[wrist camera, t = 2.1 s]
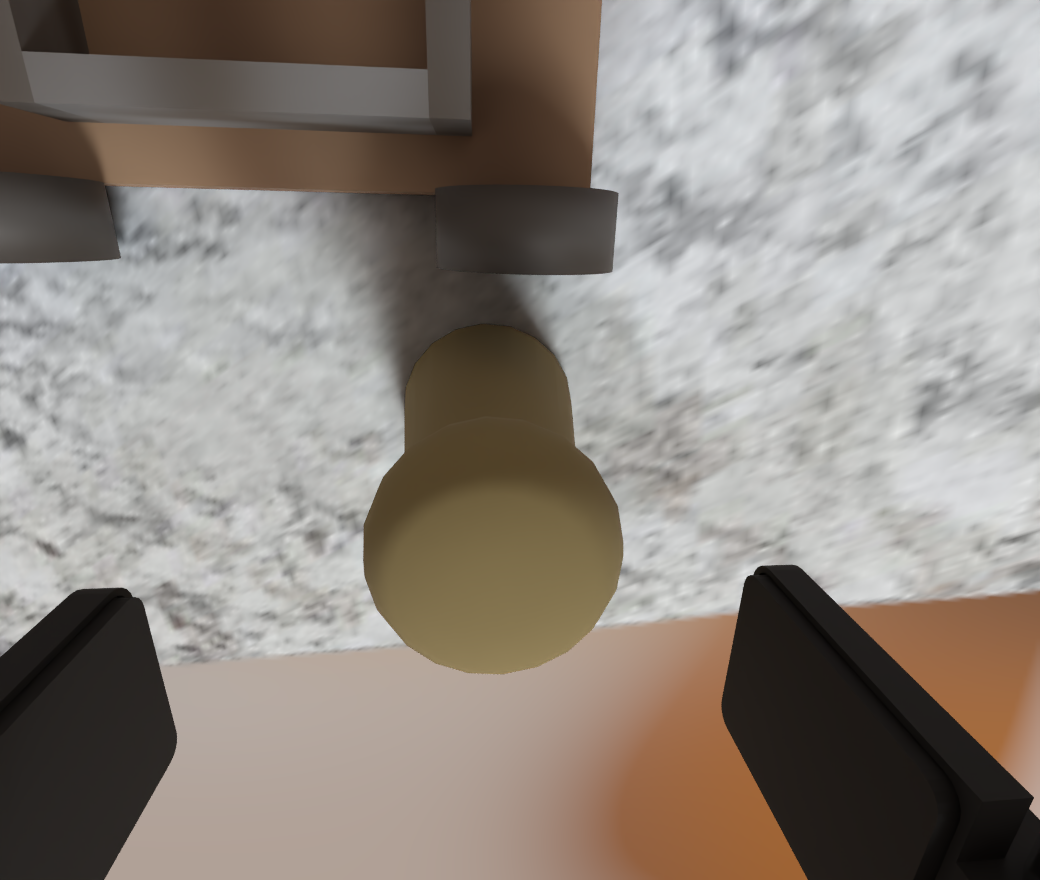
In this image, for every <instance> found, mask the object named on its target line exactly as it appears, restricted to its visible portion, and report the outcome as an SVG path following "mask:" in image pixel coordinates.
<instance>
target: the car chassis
mask: <svg viewBox="0 0 1040 880" xmlns="http://www.w3.org/2000/svg"><path fill="white" fill-rule="evenodd" d="M601 6H602V0H0V263H50V262H80V261H100V260H113V259H119V258H121V256H120V251H119V247H118V242H117V238H116V234H115V229H114V225H113V220H112V216H111V211H110V207H109V202H108V198H107V194H106V189H105V186H131V187H166V188H201V189H236V190H270V191H305V192H340V193H375V194H409V195H435V211H436V245H437V268H440V269H445V270H453V271H463V272H477V273H495V274H524V275H585V274H602V273H610V272H612V268H613V256H614V243H615V231H616V218H617V205H618V193H617V192H614V191H609V190H602V189H593V188H590V183H591V167H592V151H593V135H594V119H595V103H596V86H597V70H598V54H599V38H600V22H601Z"/></svg>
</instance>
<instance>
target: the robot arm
mask: <svg viewBox="0 0 1040 880" xmlns="http://www.w3.org/2000/svg"><path fill="white" fill-rule="evenodd" d="M722 713H723V718H724V722H725V724H726V726H727V729H728V731H729V732H730V734H731V736H732V738H733V740H734V742H735V744H736V746H737V747H738V749H739V751H740V753H741V755H742V757H743V759H744V761H745V762H746V764H747V766H748V768H749V770H750V772H751V774H752V776H753V777H754V779H755V781H756V783H757V785H758V787H759V788H760V790H761V792H762V794H763V796H764V798H765V800H766V802H767V804H768V805H769V807H770V809H771V811H772V813H773V815H774V817H775V818H776V821H777V822H778V824H779V826H780V828H781V830H782V832H783V834H784V836H785V837H786V839H787V841H788V843H789V845H790V847H791V849H792V851H793V852H794V854H795V856H796V858H797V860H798V862H799V864H800V866H801V867H802V869H803V871H804V873H805V875H806V877H807V879H808V880H1040V820H1039V819H1038V818H1037V817H1036V816H1035V815H1034V813H1033V812H1031V811H1030V810H1029V807H1030V805H1031V803H1032V801H1033V799H1034V797H1033V796H1032V795H1031V794H1030V793H1029V792H1028V791H1027V790H1026V789H1025V788H1024V787H1023V786H1022V785H1021V784H1020V783H1019V782H1018V781H1017V780H1016V779H1014V778H1013V776H1012V775H1011V774H1010V773H1008V771H1006V770H1005V769H1004V768H1003V767H1002V766H1001V765H1000V764H999V763H998V762H997V761H996V760H995V759H994V758H993V757H992V756H991V755H990V754H989V753H988V752H987V751H986V750H985V749H984V748H983V747H982V746H981V745H980V744H979V743H978V742H977V741H976V740H975V739H974V738H973V737H972V736H971V735H970V734H969V733H968V732H967V731H966V730H965V729H964V728H963V727H962V726H961V725H960V724H959V723H958V722H957V721H956V720H955V719H954V718H953V717H952V716H951V715H950V714H949V713H948V712H947V711H946V710H944V709H943V708H942V707H941V706H940V705H939V704H938V703H937V702H936V701H935V700H934V699H933V698H932V697H931V696H930V695H929V694H928V693H927V692H926V691H925V690H924V689H923V688H922V687H921V686H920V685H919V684H918V683H917V682H916V681H915V680H914V679H913V678H912V677H911V676H910V675H909V674H908V673H907V672H906V671H905V670H904V669H903V668H902V667H901V666H900V665H899V664H898V663H897V662H896V661H895V660H894V659H893V658H892V657H891V656H889V654H887V652H886V651H885V650H883V649H882V647H880V646H879V645H878V644H877V643H876V642H875V641H874V640H873V639H872V638H871V637H870V636H869V635H868V634H867V633H866V632H865V631H864V630H863V629H862V628H861V627H860V626H859V625H858V624H857V623H856V622H855V621H854V620H853V619H852V618H851V617H850V616H849V615H848V614H847V613H846V612H845V611H844V610H843V609H842V608H841V607H840V606H839V605H838V604H837V603H836V602H835V601H834V600H833V599H832V598H831V597H830V596H829V595H828V594H827V593H826V592H825V591H824V590H823V589H822V588H821V587H820V586H818V585H817V584H816V583H815V582H814V581H813V580H812V579H811V578H810V577H809V576H808V575H807V574H806V573H805V572H804V571H803V570H802V569H801V568H800V567H798V566H796V565H771V566H760V567H758V568H757V569H756V570H755V572H754V575H750V576H748V577H747V578H746V580H745V583H744V587H743V593H742V598H741V603H740V608H739V613H738V619H737V624H736V629H735V635H734V640H733V645H732V650H731V655H730V660H729V665H728V671H727V676H726V681H725V686H724V692H723V697H722ZM176 744H177V733H176V729H175V725H174V721H173V717H172V713H171V709H170V705H169V701H168V697H167V694H166V690H165V686H164V682H163V679H162V674H161V670H160V666H159V663H158V659H157V655H156V651H155V647H154V643H153V639H152V635H151V632H150V628H149V624H148V620H147V616H146V612H145V608H144V605H143V603H142V601H141V600H140V599H139V598H136V597H132V595H131V593H130V592H129V591H128V590H127V589H124V588H99V589H81V590H76V591H75V592H73V593H72V594H70V595H69V596H68V597H67V598H66V599H65V600H64V601H62V602H61V603H60V604H59V605H58V606H57V607H56V608H55V609H54V610H52V611H51V612H50V613H49V614H48V615H47V616H46V617H45V618H43V619H42V620H41V621H40V622H39V623H38V624H37V625H36V626H35V627H33V628H32V629H31V630H30V631H29V632H28V633H27V634H26V635H25V636H23V637H22V638H21V639H20V640H19V641H18V642H17V643H16V644H14V645H13V646H12V647H11V648H10V649H9V650H8V651H7V652H6V653H4V654H3V655H2V656H1V657H0V880H104V879H105V877H106V875H107V874H108V872H109V870H110V868H111V867H112V865H113V863H114V861H115V860H116V858H117V856H118V854H119V852H120V851H121V848H122V847H123V845H124V843H125V842H126V840H127V838H128V837H129V835H130V833H131V831H132V830H133V828H134V826H135V824H136V822H137V821H138V819H139V817H140V815H141V814H142V812H143V810H144V808H145V807H146V805H147V803H148V801H149V800H150V798H151V796H152V794H153V792H154V791H155V789H156V787H157V785H158V784H159V782H160V780H161V778H162V777H163V775H164V773H165V771H166V770H167V768H168V766H169V764H170V762H171V760H172V758H173V756H174V753H175V749H176Z"/></svg>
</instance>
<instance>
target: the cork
mask: <svg viewBox="0 0 1040 880" xmlns="http://www.w3.org/2000/svg"><path fill="white" fill-rule="evenodd" d="M622 560H623V537H622V530H621V524H620V518H619V512H618V506H617V504H616V502H615V500H614V498H613V496H612V495H611V493H610V491H609V489H608V487H607V486H606V484H605V482H604V480H603V479H602V477H601V475H600V473H599V472H598V470H597V468H596V466H595V465H594V463H593V462H592V461H591V460H590V459H589V458H588V457H587V456H585V455H584V454H583V453H582V452H581V451H580V450H578V449H577V448H576V447H575V440H574V429H573V417H572V406H571V399H570V393H569V387H568V382H567V377H566V375H565V374H564V372H563V370H562V368H561V366H560V365H559V363H558V361H557V359H556V357H555V356H554V355H553V354H552V353H551V352H550V351H549V350H548V349H547V348H546V347H545V346H544V345H542V344H541V343H540V342H539V341H538V340H537V339H536V338H535V337H533V336H530V335H528V334H526V333H524V332H521V331H519V330H517V329H515V328H512V327H510V326H501V325H491V324H479V325H474V326H470V327H465V328H461V329H456V330H454V331H452V332H451V333H449V334H447V335H446V336H444V337H442V338H441V339H439V340H437V341H436V342H434V343H432V344H431V346H430V347H429V348H428V349H427V350H426V351H425V353H424V354H423V355H422V356H421V357H420V359H419V360H418V361H417V362H416V363H415V365H414V368H413V370H412V373H411V375H410V378H409V381H408V383H407V386H406V391H405V453H404V454H403V455H402V456H401V458H400V459H399V460H398V461H397V462H396V463H395V464H394V465H393V467H392V468H391V469H390V470H389V471H388V472H387V473H386V474H385V476H384V477H383V479H382V481H381V483H380V486H379V488H378V490H377V493H376V495H375V498H374V500H373V503H372V505H371V508H370V510H369V513H368V515H367V518H366V520H365V523H364V551H363V562H364V575H365V579H366V582H367V584H368V587H369V590H370V592H371V595H372V598H373V600H374V603H375V606H376V608H377V610H378V611H379V613H380V614H381V615H382V616H383V617H384V619H385V620H386V621H387V622H388V624H389V625H390V626H391V627H392V628H393V629H394V631H395V632H396V633H397V634H398V635H399V637H400V638H401V639H402V640H403V641H404V643H405V644H406V645H407V646H409V647H410V648H412V649H413V650H415V651H417V652H418V653H420V654H421V655H423V656H425V657H426V658H428V659H429V660H431V661H433V662H434V663H436V664H439V665H443V666H446V667H450V668H453V669H456V670H460V671H463V672H466V673H481V674H506V673H511V672H516V671H520V670H525V669H530V668H535V667H538V666H540V665H542V664H544V663H546V662H548V661H550V660H552V659H554V658H556V657H558V656H560V655H562V654H564V653H566V652H568V651H569V650H570V649H571V648H572V647H573V646H574V645H576V644H577V643H578V642H579V641H580V640H581V639H582V638H583V637H585V636H586V635H587V634H588V633H589V632H590V631H591V630H592V629H593V628H594V626H595V624H596V623H597V621H598V620H599V618H600V616H601V615H602V613H603V611H604V610H605V608H606V606H607V605H608V603H609V601H610V600H611V598H612V596H613V595H614V593H615V591H616V589H617V584H618V580H619V575H620V570H621V565H622Z"/></svg>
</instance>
